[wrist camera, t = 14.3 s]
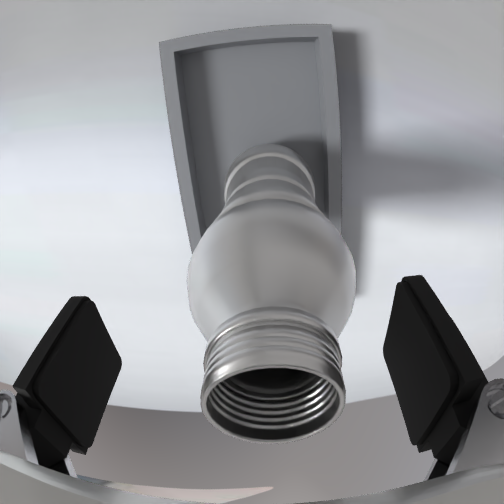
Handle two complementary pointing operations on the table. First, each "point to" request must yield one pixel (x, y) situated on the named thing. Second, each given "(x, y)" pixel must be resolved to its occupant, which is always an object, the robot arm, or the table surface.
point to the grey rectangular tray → (251, 110)
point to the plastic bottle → (271, 303)
